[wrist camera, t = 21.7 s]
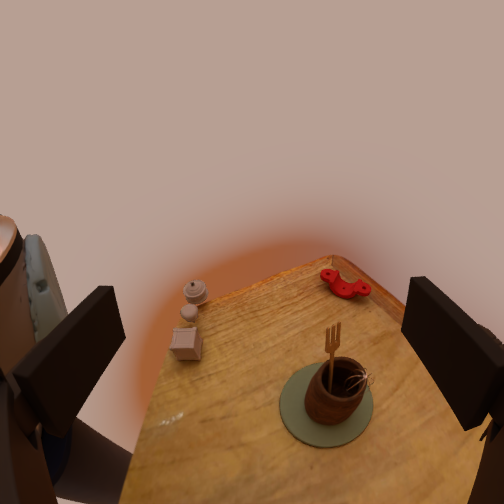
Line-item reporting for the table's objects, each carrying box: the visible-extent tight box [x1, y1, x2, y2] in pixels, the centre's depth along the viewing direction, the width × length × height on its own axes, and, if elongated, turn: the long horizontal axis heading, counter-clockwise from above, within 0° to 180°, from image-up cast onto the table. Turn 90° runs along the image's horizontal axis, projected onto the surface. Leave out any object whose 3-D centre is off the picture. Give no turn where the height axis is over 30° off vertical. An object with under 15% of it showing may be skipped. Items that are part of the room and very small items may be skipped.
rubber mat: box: [280, 362, 373, 448], centre depth 31 cm, size 11×11×1 cm
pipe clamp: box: [320, 269, 371, 298], centre depth 44 cm, size 8×3×2 cm, turn 58°
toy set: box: [170, 280, 208, 361], centre depth 39 cm, size 12×3×4 cm, turn 179°
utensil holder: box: [304, 322, 374, 426], centre depth 27 cm, size 6×6×12 cm
